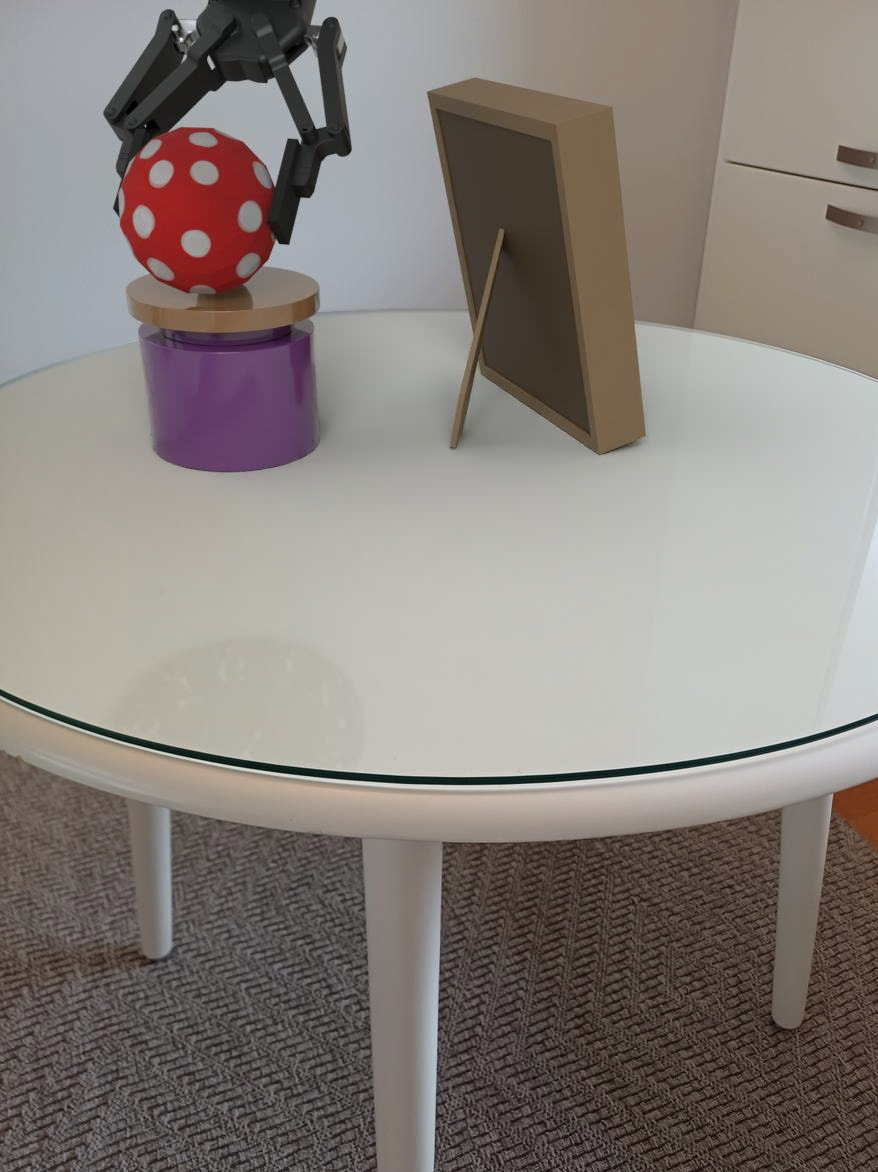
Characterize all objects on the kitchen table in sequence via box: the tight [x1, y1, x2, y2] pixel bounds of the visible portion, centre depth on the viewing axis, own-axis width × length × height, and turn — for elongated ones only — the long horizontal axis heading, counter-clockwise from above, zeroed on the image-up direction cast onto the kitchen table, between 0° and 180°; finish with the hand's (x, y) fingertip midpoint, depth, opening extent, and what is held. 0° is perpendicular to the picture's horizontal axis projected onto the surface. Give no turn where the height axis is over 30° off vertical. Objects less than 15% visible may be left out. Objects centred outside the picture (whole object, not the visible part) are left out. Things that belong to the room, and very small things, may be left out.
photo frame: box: [426, 77, 647, 456], centre depth 89 cm, size 15×22×25 cm
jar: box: [125, 265, 321, 472], centre depth 86 cm, size 14×14×12 cm
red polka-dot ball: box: [118, 126, 277, 294], centre depth 81 cm, size 11×11×15 cm
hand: (201, 227), depth 78 cm, fingers closed on red polka-dot ball, 11 cm apart
